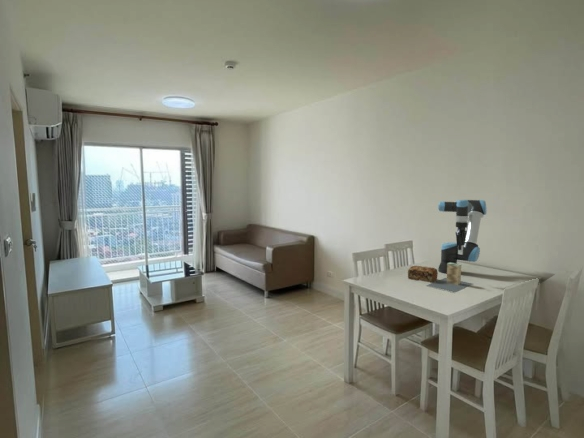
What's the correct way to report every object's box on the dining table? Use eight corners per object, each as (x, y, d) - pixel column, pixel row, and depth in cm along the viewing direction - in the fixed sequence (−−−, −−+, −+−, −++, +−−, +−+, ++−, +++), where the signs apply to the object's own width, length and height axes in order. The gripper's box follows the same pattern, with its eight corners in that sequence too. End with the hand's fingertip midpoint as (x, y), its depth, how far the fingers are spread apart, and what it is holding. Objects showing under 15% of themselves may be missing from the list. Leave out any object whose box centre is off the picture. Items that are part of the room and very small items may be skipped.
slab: (446, 282, 241) (447, 263, 239) (449, 281, 243) (449, 262, 242) (457, 285, 235) (458, 265, 233) (460, 283, 237) (461, 264, 236)
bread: (437, 280, 248) (438, 267, 247) (431, 283, 240) (431, 270, 239) (413, 275, 261) (413, 263, 260) (406, 278, 254) (407, 265, 253)
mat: (426, 286, 235) (426, 285, 235) (445, 278, 252) (445, 277, 252) (455, 293, 219) (455, 292, 219) (473, 284, 237) (473, 283, 237)
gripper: (463, 222, 233) (461, 256, 235) (471, 221, 241) (469, 253, 243) (452, 222, 239) (450, 254, 241) (460, 220, 247) (459, 252, 249)
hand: (460, 254), depth 242 cm, fingers closed
